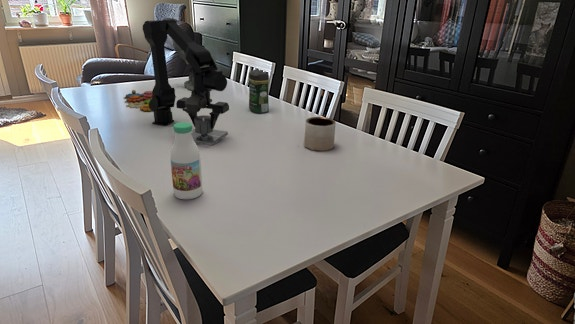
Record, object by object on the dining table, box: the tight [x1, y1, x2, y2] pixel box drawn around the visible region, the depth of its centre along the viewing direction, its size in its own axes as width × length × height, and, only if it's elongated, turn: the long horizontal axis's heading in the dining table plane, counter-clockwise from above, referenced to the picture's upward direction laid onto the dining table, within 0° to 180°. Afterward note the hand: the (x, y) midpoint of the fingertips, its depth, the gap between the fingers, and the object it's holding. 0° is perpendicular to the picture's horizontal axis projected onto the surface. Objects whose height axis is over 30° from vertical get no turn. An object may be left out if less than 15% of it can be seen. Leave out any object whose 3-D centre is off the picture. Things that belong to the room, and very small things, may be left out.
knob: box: [194, 115, 213, 134], centre depth 143 cm, size 7×7×5 cm
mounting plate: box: [192, 128, 229, 146], centre depth 144 cm, size 13×13×5 cm
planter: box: [303, 116, 337, 152], centre depth 139 cm, size 11×11×10 cm
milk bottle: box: [169, 121, 203, 200], centre depth 102 cm, size 8×8×20 cm
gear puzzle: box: [123, 89, 152, 112], centre depth 183 cm, size 31×16×4 cm, turn 26°
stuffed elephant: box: [172, 39, 217, 91], centre depth 208 cm, size 19×21×27 cm
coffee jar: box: [248, 69, 270, 114], centre depth 174 cm, size 10×8×19 cm
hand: (203, 127), depth 144 cm, fingers closed on knob, 7 cm apart
